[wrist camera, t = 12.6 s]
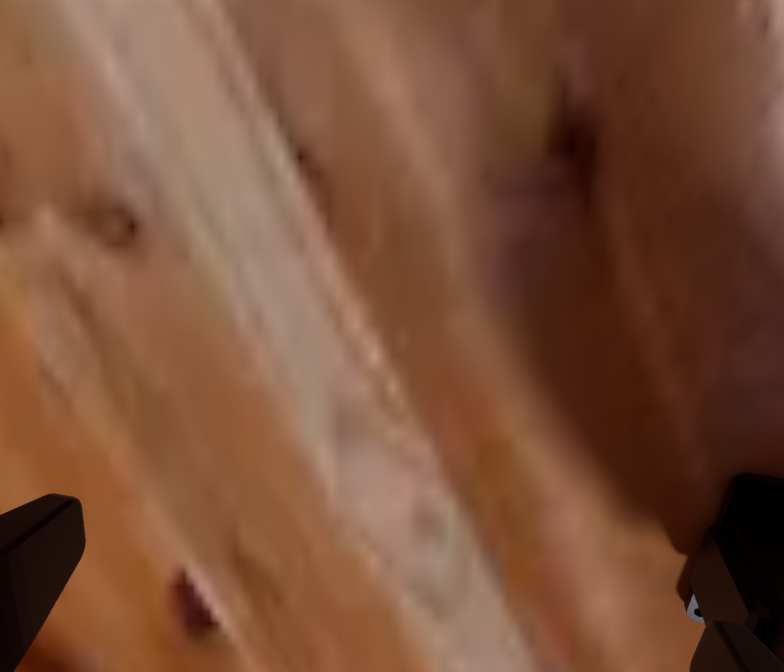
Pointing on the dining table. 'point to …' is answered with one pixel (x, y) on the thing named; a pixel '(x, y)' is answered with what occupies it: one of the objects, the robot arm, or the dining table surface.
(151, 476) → the dining table surface
